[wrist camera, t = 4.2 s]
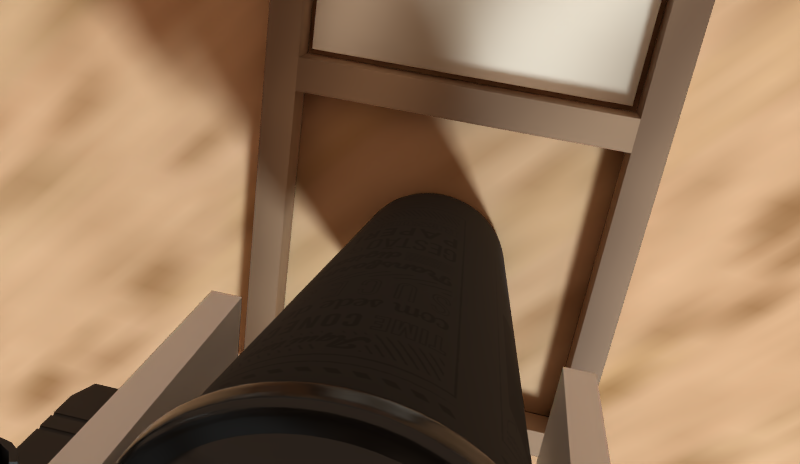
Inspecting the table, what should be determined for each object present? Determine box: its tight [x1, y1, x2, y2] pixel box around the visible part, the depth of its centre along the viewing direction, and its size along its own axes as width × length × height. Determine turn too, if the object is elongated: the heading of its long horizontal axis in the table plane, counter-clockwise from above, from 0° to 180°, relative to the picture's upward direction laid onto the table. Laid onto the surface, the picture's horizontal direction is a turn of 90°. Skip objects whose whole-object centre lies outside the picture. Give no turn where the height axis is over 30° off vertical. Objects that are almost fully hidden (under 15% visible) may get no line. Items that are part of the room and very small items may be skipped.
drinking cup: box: [115, 193, 532, 464], centre depth 14 cm, size 8×8×20 cm
